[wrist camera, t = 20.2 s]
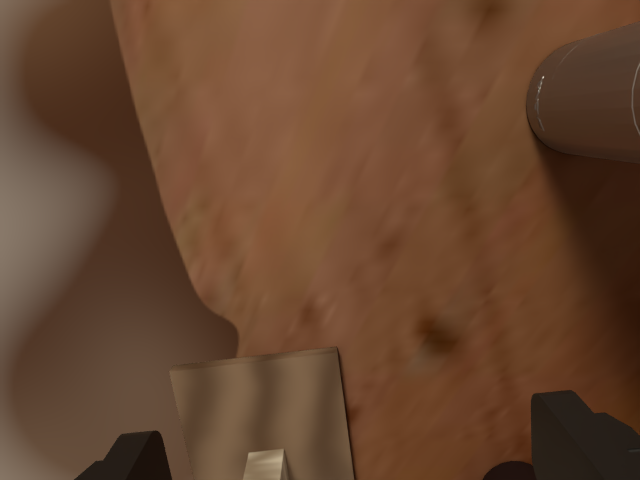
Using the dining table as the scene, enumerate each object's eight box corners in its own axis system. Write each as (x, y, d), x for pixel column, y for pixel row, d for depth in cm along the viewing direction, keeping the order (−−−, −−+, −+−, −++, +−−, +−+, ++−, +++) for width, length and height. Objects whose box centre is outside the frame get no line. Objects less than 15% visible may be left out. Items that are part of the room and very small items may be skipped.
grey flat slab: (337, 346, 46) (337, 352, 44) (357, 503, 50) (358, 511, 49) (173, 365, 46) (169, 371, 45) (207, 518, 51) (204, 527, 49)
